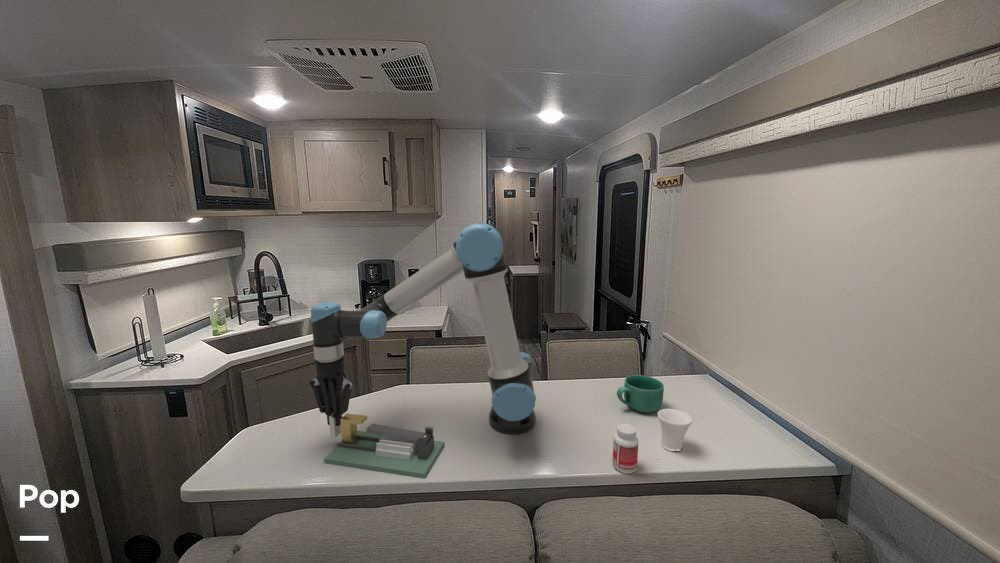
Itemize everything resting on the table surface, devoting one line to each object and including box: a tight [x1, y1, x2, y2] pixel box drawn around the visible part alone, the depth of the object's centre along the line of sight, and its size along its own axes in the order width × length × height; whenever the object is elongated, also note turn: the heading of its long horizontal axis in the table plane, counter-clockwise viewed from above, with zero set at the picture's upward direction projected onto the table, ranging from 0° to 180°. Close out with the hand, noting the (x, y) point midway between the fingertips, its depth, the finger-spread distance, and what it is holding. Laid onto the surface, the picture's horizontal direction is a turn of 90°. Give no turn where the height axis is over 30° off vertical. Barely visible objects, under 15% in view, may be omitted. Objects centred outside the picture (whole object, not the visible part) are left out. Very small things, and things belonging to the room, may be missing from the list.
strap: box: [366, 423, 431, 443], centre depth 102 cm, size 18×3×2 cm, turn 78°
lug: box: [340, 413, 368, 444], centre depth 105 cm, size 6×3×8 cm, turn 78°
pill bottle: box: [611, 423, 639, 475], centre depth 96 cm, size 6×6×11 cm
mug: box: [616, 374, 665, 413], centre depth 127 cm, size 17×13×10 cm
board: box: [323, 426, 445, 479], centre depth 102 cm, size 29×14×7 cm, turn 78°
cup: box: [657, 408, 693, 450], centre depth 105 cm, size 9×9×10 cm
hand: (336, 435), depth 106 cm, fingers closed
